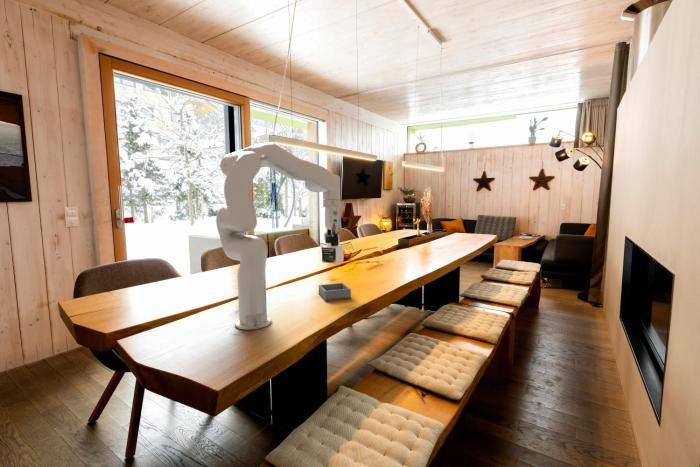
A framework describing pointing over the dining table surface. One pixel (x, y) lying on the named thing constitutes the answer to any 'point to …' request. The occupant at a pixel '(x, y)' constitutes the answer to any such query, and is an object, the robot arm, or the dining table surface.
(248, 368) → the dining table surface
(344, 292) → the grey square tray
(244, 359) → the dining table surface
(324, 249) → the medicine bottle
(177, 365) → the dining table surface
